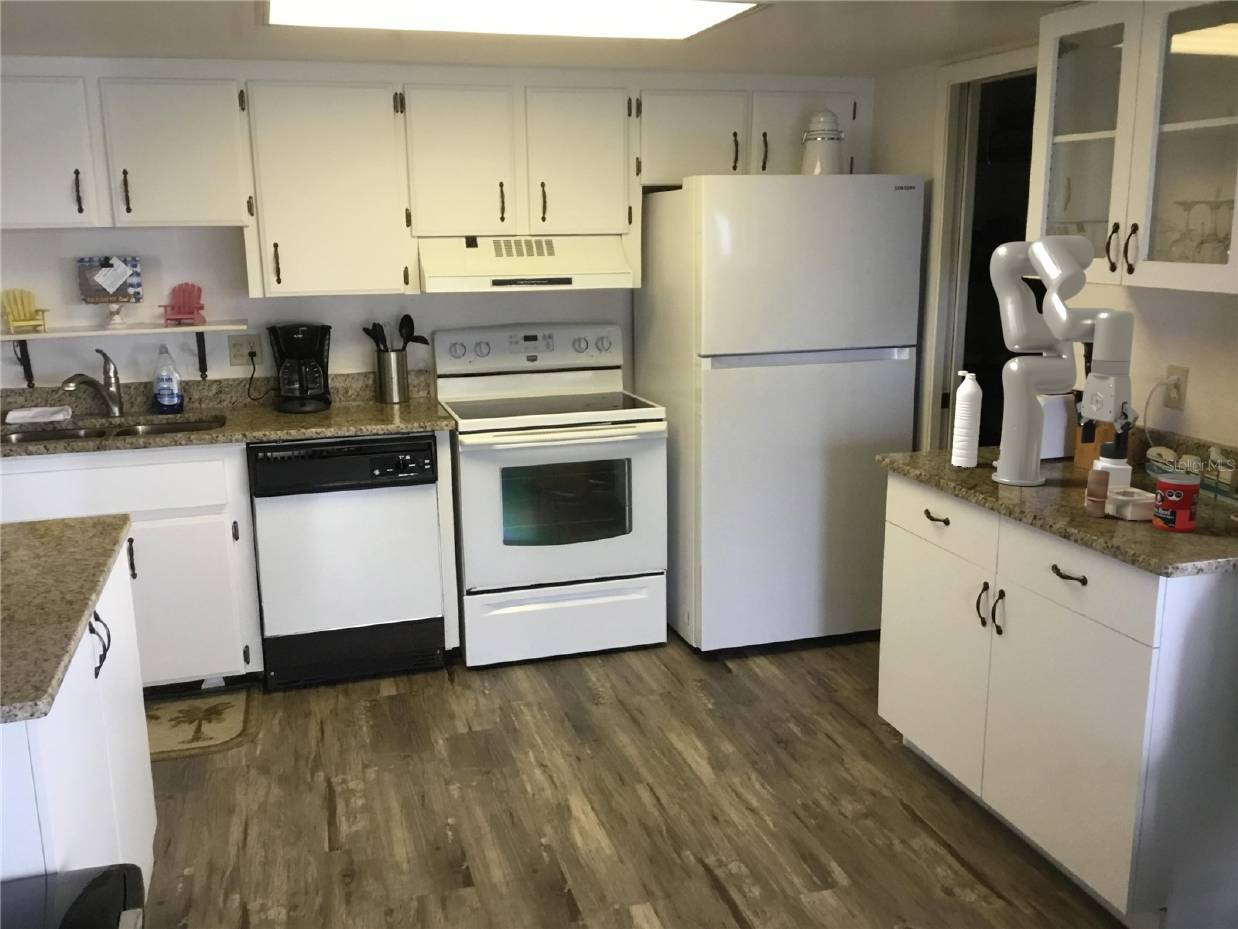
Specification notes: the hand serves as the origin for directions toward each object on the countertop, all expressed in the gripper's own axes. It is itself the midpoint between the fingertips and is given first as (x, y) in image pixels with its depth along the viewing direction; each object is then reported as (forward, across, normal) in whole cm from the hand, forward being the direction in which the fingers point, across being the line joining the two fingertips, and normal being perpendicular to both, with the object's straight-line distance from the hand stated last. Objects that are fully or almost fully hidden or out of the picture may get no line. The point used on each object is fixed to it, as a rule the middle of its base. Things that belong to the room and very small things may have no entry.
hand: (1103, 446), depth 224 cm
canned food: (+16, +12, +9) cm, 22 cm away
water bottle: (+15, -55, +3) cm, 57 cm away
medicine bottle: (+16, -18, +19) cm, 30 cm away
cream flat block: (+16, -2, +10) cm, 18 cm away
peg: (+16, -1, 0) cm, 16 cm away
